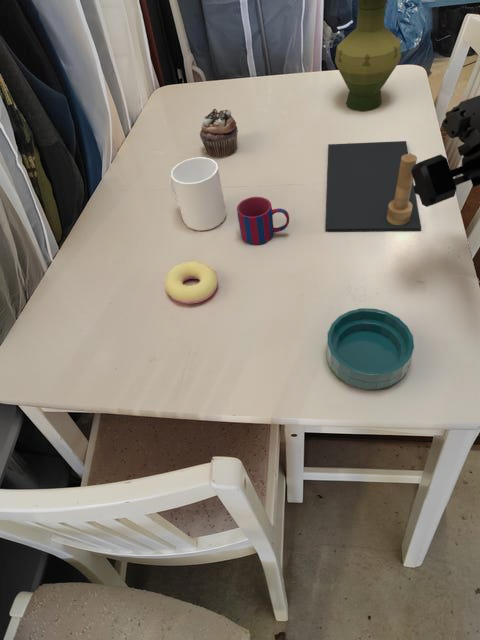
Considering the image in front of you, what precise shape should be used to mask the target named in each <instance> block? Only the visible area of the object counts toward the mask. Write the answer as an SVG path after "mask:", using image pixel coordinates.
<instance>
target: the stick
mask: <svg viewBox="0 0 480 640" xmlns="http://www.w3.org/2000/svg"><path fill="white" fill-rule="evenodd" d="M417 161H418V156H416V155H415V154H413V153H408V154H405V155H403V156H402V157H401V162H400V168H399V174H398V181H397V187H396V193H395V199H394V200H393V201H391V202H390V203H389V205H388V211H387V221H388V222H389V223H391V224H393V225H404V224H407V223H408V222H409V221H410V217H411V212H412V207H413V206H412V203H411V202H409V197H410V192H411V187H412V181H413V182H414V179H413V176H412V173H411V169H412V167H413V166H414V165H415V164H417Z"/></svg>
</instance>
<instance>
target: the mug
mask: <svg viewBox="0 0 480 640" xmlns="http://www.w3.org/2000/svg"><path fill="white" fill-rule="evenodd" d="M219 170H220V169H219V165H218V163H217V161H215V160H214V159H212V158H211V157H210V158H209V157H204V156H203V157H202V156H199V157H198V156H196V157H190V158H187V159H185V160H182V161H180V162H179V163H177V164H176V165H175V166H174V167H173V168H172V169H171V171H170V176H169V188H170V192H171V194H172V196H173V198H174V199H175V201H176V202H177V203H178V207H179V209H180V213H181V217H182V220H183V222H184V224H185V226H186V227H188V229H191V230H195V231H209V230H213V229H214V228H217V227H218V226H220V225H221V224H222V222H224V221H225V219H226V218H227V217H226V216H227V208H226V204H225V203H226V202H225V197H224V191H223V187H222V181H221V176H220V171H219Z"/></svg>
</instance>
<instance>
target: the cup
mask: <svg viewBox="0 0 480 640" xmlns="http://www.w3.org/2000/svg"><path fill="white" fill-rule="evenodd" d="M272 206H273V205H272V203H271V201H270V199H268V198H265V197H264V196H263V197H262V196H251V197H247V198H245V199H243V200H241V201H240V202H239V203H238V204H237V206H236V213H237V219H238V225H239V232H240V238H241V240H242V241H243V242H244V243H245V244H247V245H250V246H260V245H264V244H267V243H268V242H269V241H271V240H272V239H273V237H274V236H275V235H274V234H275V233H279V232H282V231H284V230H285V229H287V227H288V226H289V223H290V215H289V212H288V211H287V210H286V209H284V208H281V207H280V208H273V207H272ZM278 213H281V214H284V216H285V219H286V222H285V223H284V224H283V225H281V226H279V227H274V216H273V215H275V214H278Z"/></svg>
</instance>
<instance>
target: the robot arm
mask: <svg viewBox="0 0 480 640" xmlns="http://www.w3.org/2000/svg"><path fill="white" fill-rule="evenodd" d="M441 124H442V128H443V130H444V131H445V133H446V134H447V136H448V137H449V138H450V139H455V138H457V139H459V141H460V142H461V143H463V144H460V145H459V146H457V147H456V148H457V151H458V154H459V156H460V157H462V158H461V166H458V167H455V168H453V169H451V167H450V164H449V161H448V158H447V157H446V156H444V155H443V154H437V155H435V156H432V157H430V158H427V159H424V160H422V161H419V162H418V163H417V162H416V164H415V165H414V166H413V167H412V169H411V173H412V176H413V183H414V187H413V189H414V192H415V195H418V196H419V199H420V202H421V205H422V206H424V207H425V208H428V207H430V206H433V205H436V204H439V203H441V202H444V201H446V200H448V199H451V198H454V197H455V196H456V192H457V186H459V185H462V184H464V183H467V182H469V181H470V182H471V184H472V187H473V188H475V187H478V186H480V94H479V95H476V96H473V97H470V98H468V99H465V100H462V101H460V102H459V103H458V105H456V106H454V107H452V109H450V110H448V111H446V112H445V118H444V119H443V121H442V123H441ZM457 176H458V177H457Z"/></svg>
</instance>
